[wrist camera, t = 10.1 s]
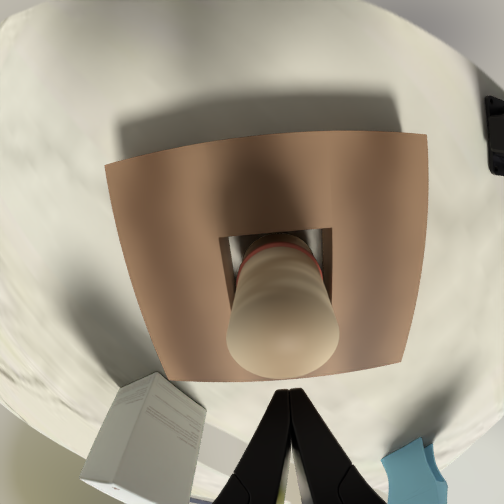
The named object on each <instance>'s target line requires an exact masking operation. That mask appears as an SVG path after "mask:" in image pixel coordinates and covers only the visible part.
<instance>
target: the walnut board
mask: <svg viewBox="0 0 504 504" xmlns="http://www.w3.org/2000/svg"><path fill="white" fill-rule="evenodd" d="M105 172H106V178H107V184H108V189H109V194H110V200H111V204H112V209H113V214H114V218H115V223H116V227H117V231H118V236H119V240H120V243H121V247H122V251H123V255H124V258H125V262H126V266H127V269H128V272H129V276H130V279H131V282H132V286H133V289H134V292H135V295H136V298H137V301H138V304H139V307H140V310H141V313H142V315H143V318H144V321H145V324H146V326H147V329H148V332H149V334H150V337H151V340H152V342H153V345H154V347H155V350H156V352H157V355H158V357H159V359H160V362H161V364H162V366H163V369H164V371H165V373H166V375H167V378H168V380H175V381H196V382H252V381H273V380H287V379H272V378H266V377H262V376H258V375H256V374H253V373H251V372H249V371H247V370H246V369H244V368H243V367H241V366H240V365H239V364H238V363H237V362H236V361H235V360H234V359H233V357H232V356H231V354H230V352H229V350H228V346H227V341H226V336H227V329H228V325H229V320H230V316H231V311H232V306H233V302H234V297H235V293H236V284H235V278H234V271H233V265H232V258H231V251H230V245H229V238H228V237H229V236H240V235H251V234H261V233H272V232H284V231H295V230H307V229H320V228H322V245H323V283H324V286H325V288H326V291H327V294H328V297H329V300H330V303H331V305H332V308H333V311H334V314H335V317H336V320H337V323H338V326H339V341H338V345H337V347H336V349H335V351H334V353H333V354H332V356H331V357H330V358H329V359H328V361H327V362H326V363H324V364H323V365H322V366H321V367H319V368H318V369H316V370H314V371H312V372H310V373H308V374H305V375H303V376H299V377H295V378H288V379H299V378H309V377H317V376H326V375H333V374H340V373H347V372H353V371H359V370H364V369H370V368H375V367H380V366H385V365H390V364H394V363H399V362H401V360H402V357H403V353H404V350H405V346H406V343H407V339H408V335H409V331H410V327H411V323H412V319H413V314H414V310H415V305H416V300H417V295H418V289H419V284H420V278H421V271H422V264H423V257H424V248H425V239H426V228H427V213H428V146H427V135H425V134H415V133H402V132H384V131H310V132H292V133H278V134H267V135H257V136H248V137H239V138H232V139H224V140H218V141H211V142H205V143H199V144H193V145H188V146H182V147H177V148H172V149H167V150H163V151H158V152H154V153H149V154H145V155H141V156H137V157H133V158H129V159H125V160H121V161H118V162H114V163H110V164H107V165H105Z"/></svg>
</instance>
